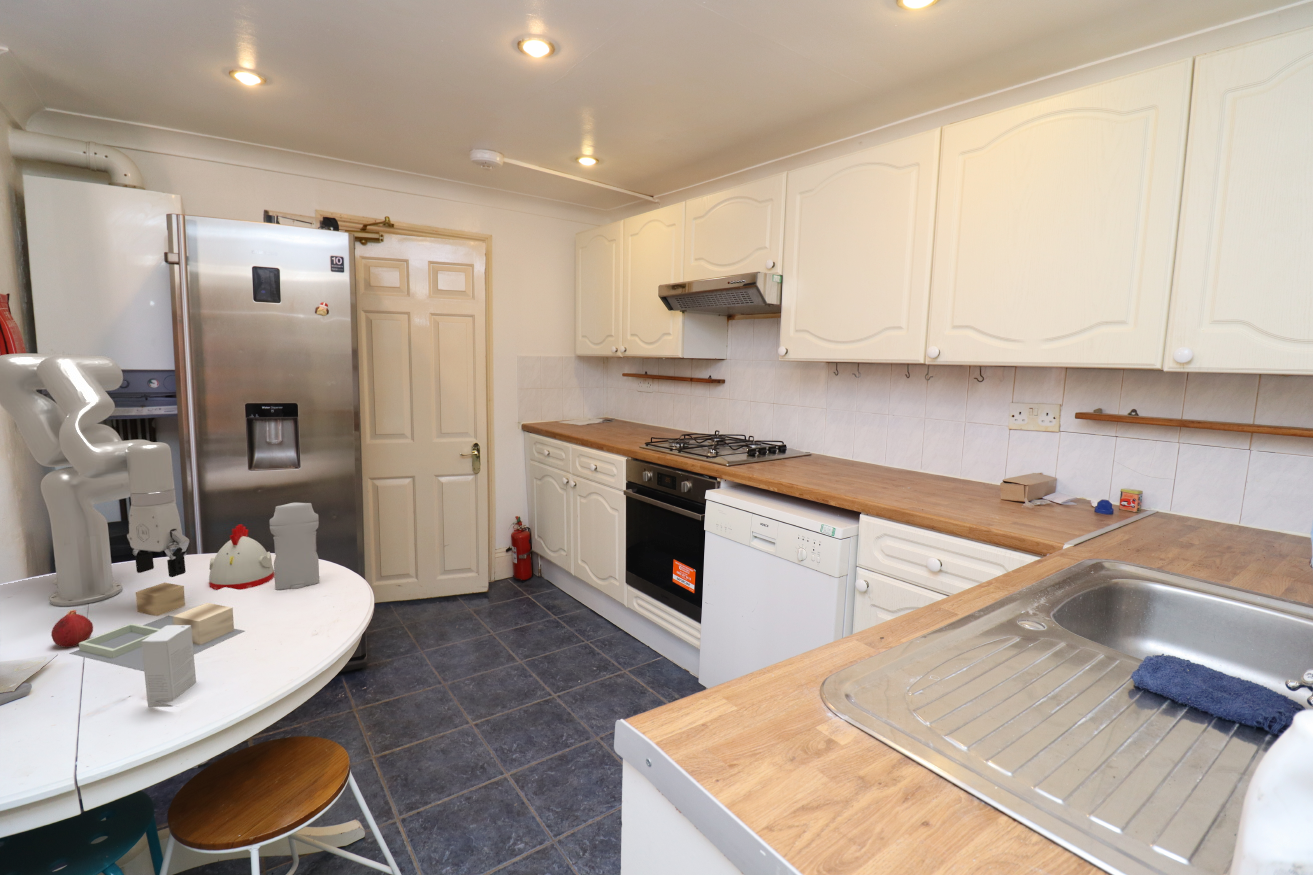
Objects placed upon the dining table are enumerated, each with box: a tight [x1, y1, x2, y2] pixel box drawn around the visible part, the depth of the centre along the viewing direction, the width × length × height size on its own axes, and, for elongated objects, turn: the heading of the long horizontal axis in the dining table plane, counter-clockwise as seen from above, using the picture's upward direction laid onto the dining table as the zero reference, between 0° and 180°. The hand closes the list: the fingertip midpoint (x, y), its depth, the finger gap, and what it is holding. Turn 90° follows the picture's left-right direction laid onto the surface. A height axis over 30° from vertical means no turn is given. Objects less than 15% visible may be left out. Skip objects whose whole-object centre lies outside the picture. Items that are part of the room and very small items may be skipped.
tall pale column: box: [268, 502, 320, 591], centre depth 151 cm, size 11×4×22 cm, turn 125°
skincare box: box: [141, 625, 197, 708], centre depth 102 cm, size 6×4×12 cm
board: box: [69, 615, 246, 672], centre depth 119 cm, size 22×18×1 cm
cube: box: [135, 581, 186, 617], centre depth 134 cm, size 6×6×6 cm
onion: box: [50, 609, 94, 648], centre depth 117 cm, size 6×6×8 cm
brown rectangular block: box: [172, 602, 235, 645], centre depth 122 cm, size 7×7×5 cm
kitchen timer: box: [208, 523, 275, 591], centre depth 154 cm, size 14×14×15 cm
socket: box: [78, 622, 160, 658], centre depth 118 cm, size 9×9×2 cm
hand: (161, 572), depth 133 cm, fingers open, 9 cm apart
